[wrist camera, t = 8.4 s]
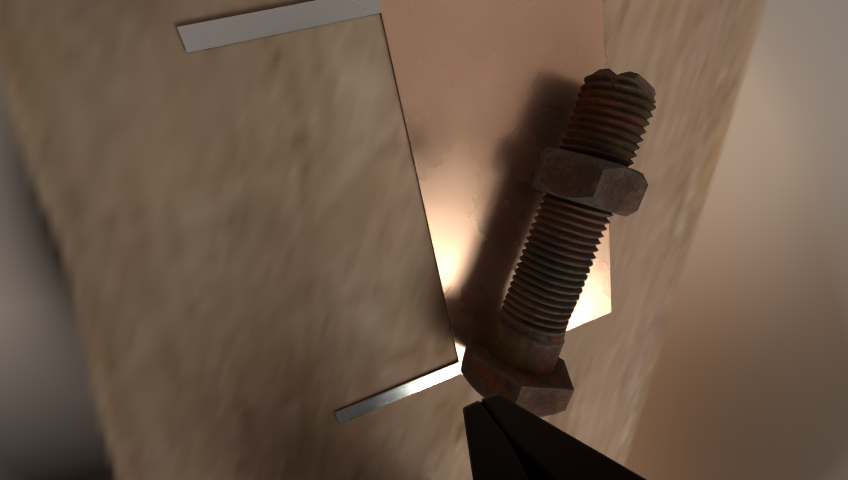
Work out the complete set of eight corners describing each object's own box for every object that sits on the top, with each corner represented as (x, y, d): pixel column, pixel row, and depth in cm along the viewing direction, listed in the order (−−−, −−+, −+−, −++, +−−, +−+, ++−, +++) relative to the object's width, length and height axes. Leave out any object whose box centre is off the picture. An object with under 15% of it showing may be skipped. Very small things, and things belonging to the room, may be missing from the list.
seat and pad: (609, 311, 25) (611, 312, 25) (340, 424, 22) (340, 425, 21) (600, -57, 17) (601, -58, 17) (175, 24, 14) (175, 23, 14)
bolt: (578, 87, 21) (486, 344, 24) (538, 51, 17) (435, 363, 20) (706, 105, 18) (580, 401, 21) (693, 66, 14) (540, 437, 17)
